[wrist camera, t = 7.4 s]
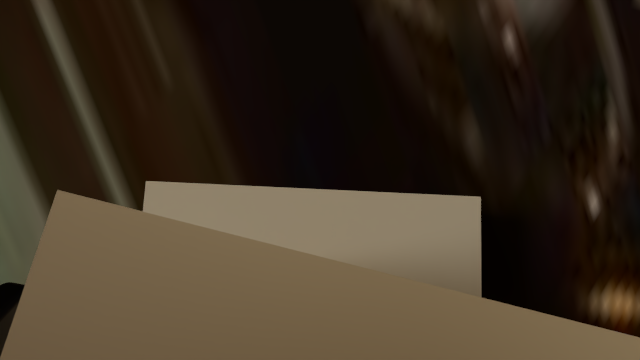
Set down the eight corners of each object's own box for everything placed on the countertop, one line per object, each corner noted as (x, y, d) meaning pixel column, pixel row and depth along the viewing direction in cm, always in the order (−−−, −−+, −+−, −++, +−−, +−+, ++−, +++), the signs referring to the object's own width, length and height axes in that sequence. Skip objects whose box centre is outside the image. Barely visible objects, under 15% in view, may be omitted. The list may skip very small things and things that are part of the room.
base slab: (455, 522, 18) (483, 566, 15) (140, 508, 18) (107, 550, 15) (456, 210, 20) (480, 197, 17) (169, 197, 20) (146, 181, 17)
